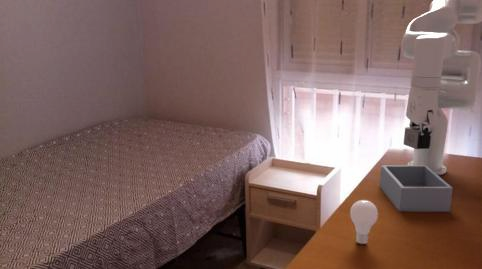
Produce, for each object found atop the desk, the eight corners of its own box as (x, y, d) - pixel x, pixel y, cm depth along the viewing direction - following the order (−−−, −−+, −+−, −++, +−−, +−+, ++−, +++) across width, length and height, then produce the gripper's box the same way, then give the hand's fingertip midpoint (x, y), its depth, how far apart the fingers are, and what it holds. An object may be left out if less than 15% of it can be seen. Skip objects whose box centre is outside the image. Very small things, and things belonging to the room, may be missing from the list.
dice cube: (403, 144, 131) (405, 127, 129) (416, 141, 133) (418, 125, 131) (416, 149, 126) (418, 132, 125) (429, 146, 128) (431, 129, 127)
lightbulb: (375, 239, 111) (379, 197, 108) (374, 252, 105) (378, 208, 102) (349, 234, 113) (352, 194, 110) (346, 247, 107) (349, 204, 104)
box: (379, 186, 143) (381, 165, 141) (423, 186, 143) (426, 165, 141) (399, 211, 126) (401, 188, 124) (449, 211, 126) (452, 188, 124)
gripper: (400, 76, 132) (395, 135, 138) (424, 88, 116) (416, 155, 121) (426, 76, 132) (419, 135, 138) (453, 88, 116) (444, 154, 121)
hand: (418, 143), depth 129 cm, fingers closed on dice cube, 5 cm apart
